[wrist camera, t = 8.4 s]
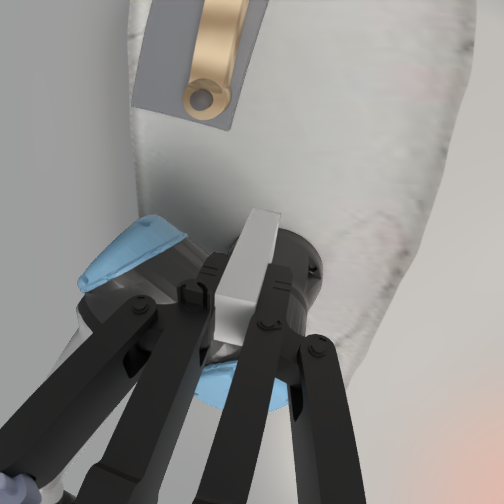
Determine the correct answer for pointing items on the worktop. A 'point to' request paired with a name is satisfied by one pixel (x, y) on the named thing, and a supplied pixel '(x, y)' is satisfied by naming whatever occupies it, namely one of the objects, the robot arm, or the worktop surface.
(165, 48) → the board
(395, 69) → the worktop surface
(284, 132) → the worktop surface
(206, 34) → the brass link
